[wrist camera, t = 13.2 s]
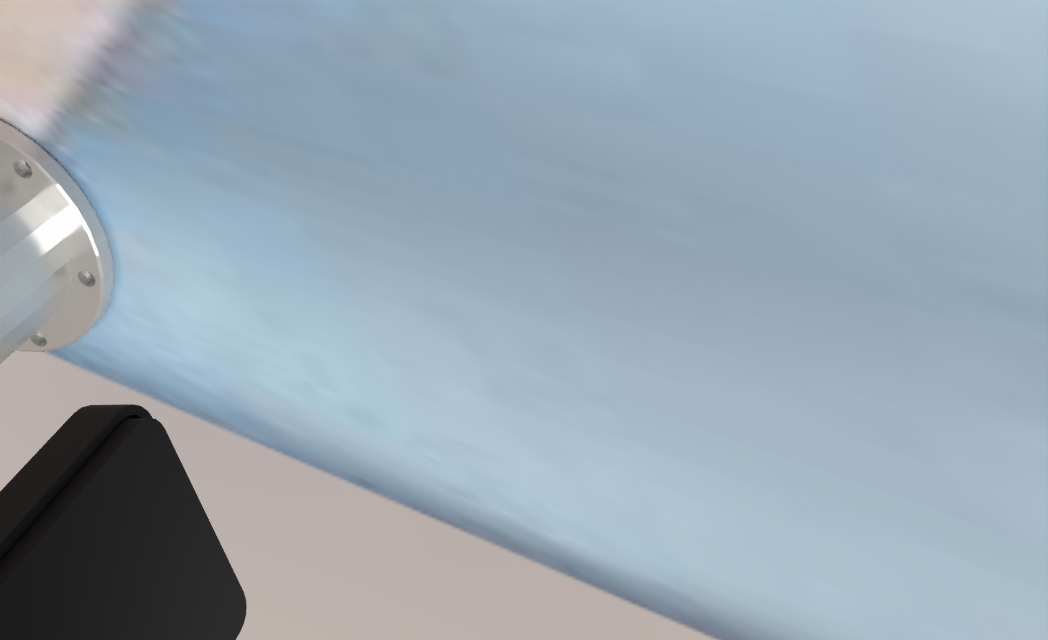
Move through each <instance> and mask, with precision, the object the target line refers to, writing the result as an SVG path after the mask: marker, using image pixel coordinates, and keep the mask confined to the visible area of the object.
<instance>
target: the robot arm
mask: <svg viewBox="0 0 1048 640" xmlns="http://www.w3.org/2000/svg"><path fill="white" fill-rule="evenodd" d="M113 283H114V272H113V260H112V255H111V251H110V248H109V244H108V241H107V237H106V234H105V232H104V230H103V228H102V225H101V223H100V221H99V219H98V217H97V215H96V213H95V210H94V209H93V207H92V206H91V204H90V203H89V201H88V200H87V198H86V197H85V195H84V194H83V192H82V191H81V189H80V188H79V186H78V185H77V184H76V183H75V182H74V180H73V179H72V178H71V177H70V176H69V175H68V173H67V172H66V171H65V170H64V169H63V168H62V166H61V165H60V164H59V163H58V162H56V161H55V160H54V159H53V158H52V157H51V156H50V155H49V154H48V153H47V152H45V151H44V150H43V149H42V148H41V147H40V146H39V145H38V144H36V143H35V142H33V141H32V140H31V139H29V138H28V137H26V136H25V135H23V134H22V133H21V132H19V131H18V130H16V129H15V128H13V127H12V126H10V125H8V124H6V123H4V122H2V121H0V364H1V363H2V362H3V361H4V360H5V359H6V358H8V357H9V356H10V355H11V354H12V353H13V352H14V351H15V350H19V351H34V352H44V351H50V350H55V349H60V348H63V347H65V346H68V345H70V344H72V343H74V342H76V341H78V340H79V339H80V338H81V337H82V336H83V335H85V334H86V333H87V332H88V331H89V330H90V329H92V328H93V327H94V326H95V324H96V323H97V322H98V321H99V320H100V319H101V317H102V316H103V315H104V314H105V311H106V309H107V307H108V304H109V302H110V300H111V297H112V290H113ZM245 616H246V599H245V595H244V592H243V590H242V588H241V586H240V584H239V581H238V579H237V577H236V575H235V573H234V572H233V569H232V567H231V565H230V563H229V561H228V559H227V556H226V555H225V552H224V550H223V548H222V546H221V544H220V542H219V540H218V538H217V536H216V534H215V532H214V530H213V527H212V526H211V523H210V521H209V519H208V517H207V515H206V513H205V511H204V509H203V507H202V505H201V503H200V501H199V499H198V496H197V494H196V492H195V490H194V488H193V486H192V484H191V482H190V480H189V478H188V476H187V474H186V472H185V469H184V467H183V465H182V463H181V462H180V459H179V457H178V455H177V453H176V451H175V449H174V447H173V445H172V443H171V440H170V439H169V436H168V434H167V433H166V430H165V428H164V427H163V425H162V424H161V423H160V422H159V421H157V420H156V419H153V418H152V416H151V415H150V413H149V412H148V411H147V410H146V409H144V408H143V407H141V406H138V405H90V406H86V407H82V408H81V409H79V410H78V411H77V412H75V413H74V414H73V415H72V416H71V417H70V418H69V419H68V420H67V421H66V422H65V423H64V424H63V426H62V427H61V428H60V429H59V430H58V431H57V432H56V433H55V434H54V435H53V436H52V437H51V438H50V439H49V440H48V441H47V443H46V444H45V445H44V446H43V447H42V448H41V449H40V450H39V451H38V452H37V453H36V454H35V455H34V456H33V457H32V458H31V459H30V461H29V462H28V463H27V464H26V465H25V466H24V467H23V468H22V469H21V470H20V471H19V472H18V473H17V474H16V476H15V477H14V478H13V479H12V480H11V481H10V482H9V483H8V484H7V485H6V486H5V487H4V488H3V489H2V491H0V640H236V638H237V636H238V635H239V633H240V631H241V629H242V626H243V624H244V620H245Z"/></svg>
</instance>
